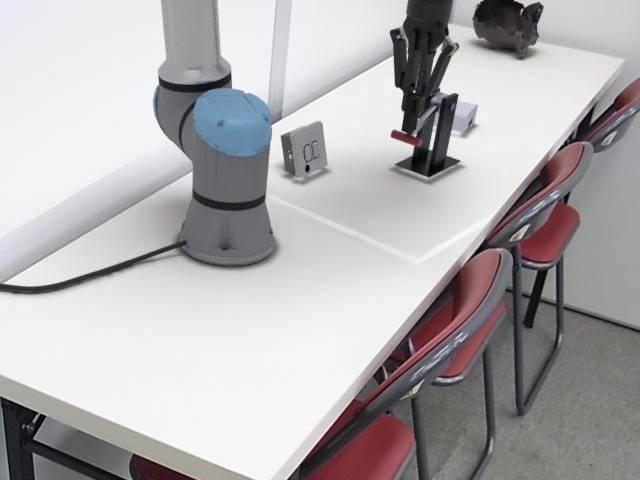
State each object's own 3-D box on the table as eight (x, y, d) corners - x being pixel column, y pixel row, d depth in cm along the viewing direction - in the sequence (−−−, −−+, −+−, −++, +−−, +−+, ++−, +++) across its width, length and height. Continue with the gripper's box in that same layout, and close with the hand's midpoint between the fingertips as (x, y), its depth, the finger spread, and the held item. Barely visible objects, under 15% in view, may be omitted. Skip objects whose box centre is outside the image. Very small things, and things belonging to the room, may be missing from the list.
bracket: (428, 182, 174) (443, 105, 165) (393, 169, 178) (406, 94, 169) (460, 166, 181) (476, 92, 172) (426, 154, 185) (439, 80, 176)
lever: (418, 150, 167) (417, 140, 165) (391, 141, 170) (390, 131, 168) (457, 107, 171) (457, 97, 169) (430, 99, 174) (429, 88, 172)
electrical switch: (299, 184, 169) (300, 134, 164) (277, 178, 172) (277, 129, 167) (328, 170, 175) (330, 122, 170) (306, 165, 178) (307, 117, 173)
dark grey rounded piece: (544, 48, 250) (476, 36, 259) (554, -8, 240) (483, -19, 249) (524, 64, 241) (455, 51, 250) (533, 6, 232) (461, -5, 241)
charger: (409, 109, 205) (474, 124, 201) (396, 121, 199) (462, 137, 194) (413, 88, 203) (478, 103, 198) (399, 100, 196) (467, 115, 191)
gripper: (477, -2, 152) (449, 135, 166) (411, -19, 158) (390, 115, 173) (453, 5, 147) (427, 146, 161) (387, -12, 153) (367, 125, 168)
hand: (408, 130), depth 167 cm, fingers closed
